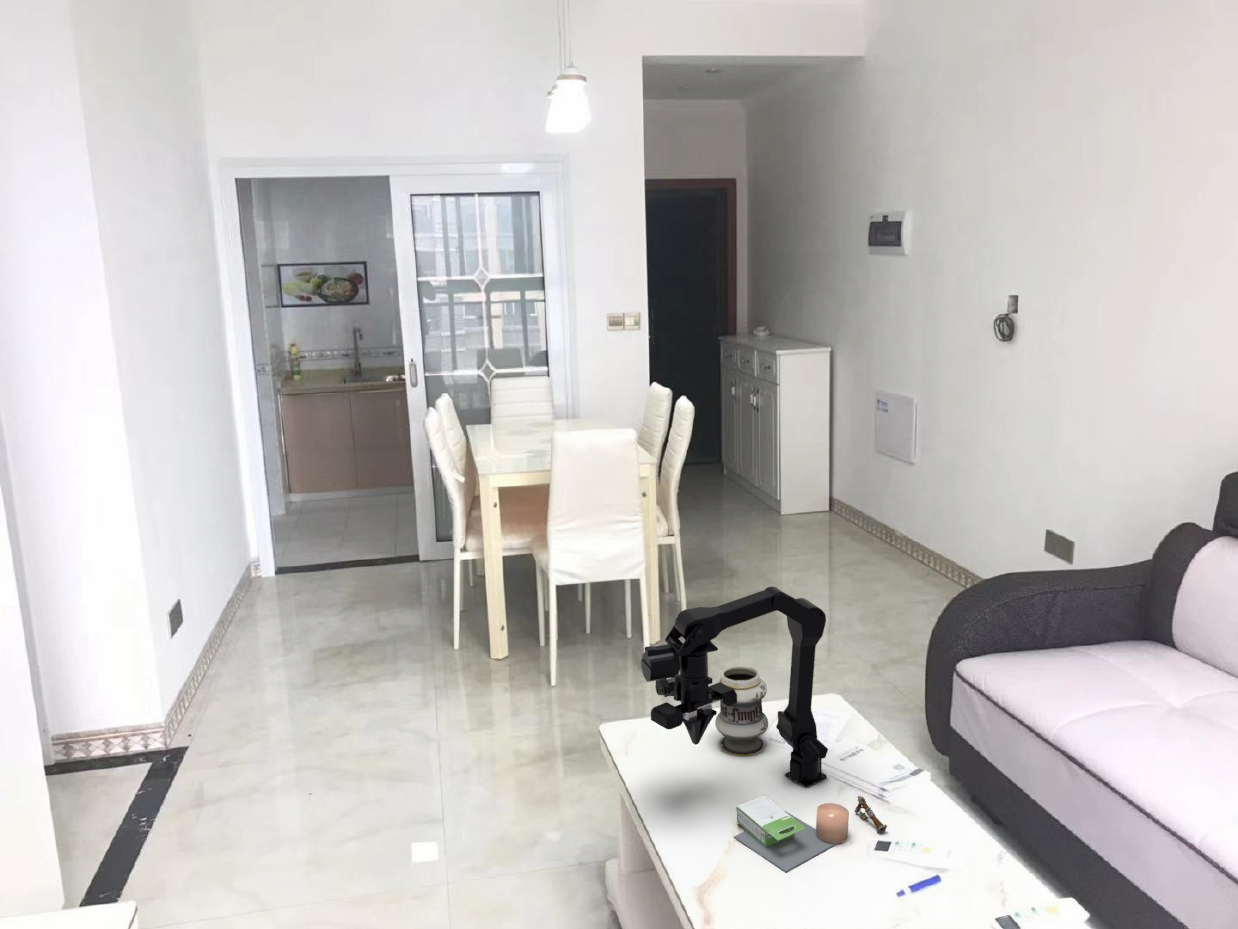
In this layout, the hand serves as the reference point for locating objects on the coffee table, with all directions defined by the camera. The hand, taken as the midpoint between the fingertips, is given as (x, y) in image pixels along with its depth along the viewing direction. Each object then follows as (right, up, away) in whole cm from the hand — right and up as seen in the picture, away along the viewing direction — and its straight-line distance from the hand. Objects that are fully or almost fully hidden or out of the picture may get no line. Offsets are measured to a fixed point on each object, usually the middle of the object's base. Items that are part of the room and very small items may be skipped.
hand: (695, 743), depth 199 cm
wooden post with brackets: (+34, -14, -8) cm, 37 cm away
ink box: (+10, -12, -5) cm, 16 cm away
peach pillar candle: (+25, -15, -11) cm, 31 cm away
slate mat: (+16, -15, -12) cm, 25 cm away
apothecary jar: (+13, -8, +25) cm, 29 cm away
